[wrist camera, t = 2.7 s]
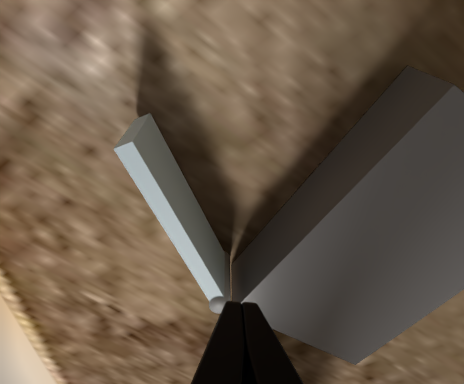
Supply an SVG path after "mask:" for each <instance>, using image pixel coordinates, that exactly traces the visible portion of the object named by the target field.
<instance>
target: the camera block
mask: <svg viewBox="0 0 464 384" xmlns="http://www.w3.org/2000/svg"><path fill="white" fill-rule="evenodd" d="M231 272H232V301H239V302H240V303H241V304H242V302H254V303H257V304H258V306H259V307H260V309H261V311H262V313H263V314H264V316H265V318H266V320H267V321H268V323H269V325H270V326H271V328H272V329H274V330H276V331H278V332H281V333H283V334H285V335H288V336H290V337H292V338H295V339H297V340H299V341H302V342H304V343H306V344H308V345H311V346H313V347H315V348H318V349H320V350H322V351H325V352H327V353H329V354H332V355H334V356H336V357H338V358H341V359H343V360H345V361H348V362H350V363H352V364H355V365H356V364H357V363H359V362H360V361H362V360H363V359H365V358H366V357H367V356H369V355H370V354H372V353H373V352H375V351H376V350H377V349H379V348H380V347H382V346H383V345H385V344H386V343H388V342H389V341H390V340H392V339H393V338H395V337H396V336H398V335H399V334H400V333H402V332H403V331H405V330H406V329H408V328H409V327H410V326H412V325H413V324H415V323H416V322H418V321H419V320H420V319H422V318H423V317H425V316H426V315H428V314H429V313H430V312H432V311H433V310H435V309H436V308H438V307H439V306H440V305H442V304H443V303H445V302H446V301H448V300H449V299H451V298H452V297H453V296H455V295H456V294H458V293H459V292H461V291H462V290H463V289H464V93H463V92H462V91H461V90H460V89H459V88H458V87H457V86H455V85H454V84H452V83H449V82H447V81H444V80H442V79H439V78H437V77H434V76H432V75H429V74H427V73H424V72H422V71H419V70H417V69H415V68H412V67H410V66H407V67H406V68H405V69H404V70H403V71H402V72H401V74H400V75H399V76H398V77H397V78H396V79H395V80H394V81H393V83H392V84H391V85H390V86H389V87H388V88H387V89H386V91H385V92H384V93H383V94H382V95H381V96H380V97H379V98H378V100H377V101H376V102H375V103H374V104H373V105H372V106H371V107H370V109H369V110H368V111H367V112H366V113H365V114H364V115H363V117H362V118H361V119H360V120H359V121H358V122H357V123H356V124H355V126H354V127H353V128H352V129H351V130H350V131H349V132H348V133H347V135H346V136H345V137H344V138H343V139H342V140H341V141H340V143H339V144H338V145H337V146H336V147H335V148H334V149H333V150H332V152H331V153H330V154H329V155H328V156H327V157H326V158H325V159H324V161H323V162H322V163H321V164H320V165H319V166H318V167H317V169H316V170H315V171H314V172H313V173H312V174H311V175H310V176H309V178H308V179H307V180H306V181H305V182H304V183H303V184H302V185H301V187H300V188H299V189H298V190H297V191H296V192H295V193H294V195H293V196H292V197H291V198H290V199H289V200H288V201H287V202H286V204H285V205H284V206H283V207H282V208H281V209H280V210H279V211H278V213H277V214H276V215H275V216H274V217H273V218H272V219H271V221H270V222H269V223H268V224H267V225H266V226H265V227H264V228H263V230H262V231H261V232H260V233H259V234H258V235H257V236H256V237H255V239H254V240H253V241H252V242H251V243H250V244H249V245H248V247H247V248H246V249H245V250H244V251H243V252H242V253H241V254H240V256H239V257H238V258H237V259H236V260H235V261H234V262H233V263H232V265H231Z"/></svg>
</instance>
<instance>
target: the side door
mask: <svg viewBox="0 0 464 384" xmlns="http://www.w3.org/2000/svg"><path fill="white" fill-rule="evenodd" d="M114 150H115V152H116V153H117V155H118V157H119V158H120V160H121V161H122V163H123V164H124V166H125V168H126V169H127V171H128V172H129V174H130V176H131V177H132V179H133V180H134V182H135V184H136V185H137V187H138V188H139V190H140V192H141V193H142V195H143V196H144V198H145V200H146V201H147V203H148V204H149V206H150V208H151V209H152V211H153V212H154V214H155V215H156V217H157V219H158V220H159V222H160V223H161V225H162V227H163V228H164V230H165V231H166V233H167V235H168V236H169V238H170V239H171V241H172V243H173V244H174V246H175V247H176V249H177V251H178V252H179V254H180V255H181V257H182V259H183V260H184V262H185V263H186V265H187V266H188V268H189V270H190V271H191V273H192V274H193V276H194V278H195V279H196V281H197V282H198V284H199V286H200V287H201V289H202V290H203V292H204V294H205V295H206V297H207V298H208V300H209V308H210V310H211V311H213V312H215V313H221V312H222V309H223V307H224V304H225V302H226V301H230V256H229V254H228V253H227V252H224V251H223V249H222V247H221V245H220V243H219V241H218V239H217V237H216V236H215V234H214V232H213V230H212V228H211V226H210V224H209V222H208V221H207V219H206V217H205V215H204V213H203V211H202V209H201V207H200V206H199V204H198V202H197V200H196V198H195V196H194V194H193V192H192V191H191V189H190V187H189V185H188V183H187V181H186V179H185V177H184V176H183V174H182V172H181V170H180V168H179V166H178V164H177V162H176V161H175V159H174V157H173V155H172V153H171V151H170V149H169V147H168V145H167V144H166V142H165V140H164V138H163V136H162V134H161V132H160V130H159V129H158V127H157V125H156V123H155V121H154V119H153V117H152V115H151V114H150V113H149V114H147V115H144V116H142V117H139V118H137V119H135V120H134V121H133V123H132V124H131V125H130V127H129V128H128V130H127V131H126V132H125V134H124V135H123V137H122V138H121V139H120V141H119V142H118V144H117V145H116V146H115V148H114Z"/></svg>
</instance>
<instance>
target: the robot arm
mask: <svg viewBox="0 0 464 384" xmlns="http://www.w3.org/2000/svg"><path fill="white" fill-rule="evenodd" d="M191 384H303V382H302V380H301V379H300V377H299V375H298V373H297V372H296V370H295V368H294V366H293V365H292V363H291V361H290V359H289V358H288V356H287V354H286V352H285V351H284V349H283V347H282V346H281V344H280V342H279V340H278V339H277V337H276V335H275V333H274V332H273V330H272V328H271V326H270V325H269V323H268V321H267V320H266V318H265V316H264V314H263V313H262V311H261V309H260V307H259V306H258V304H257V303H254V302H242V304H241V303H240V302H239V301H226V302H225V304H224V307H223V309H222V312H221V314H220V316H219V319H218V321H217V323H216V326H215V328H214V330H213V333H212V335H211V337H210V340H209V342H208V344H207V347H206V349H205V351H204V354H203V356H202V358H201V361H200V363H199V366H198V368H197V370H196V373H195V375H194V377H193V380H192V382H191Z"/></svg>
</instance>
